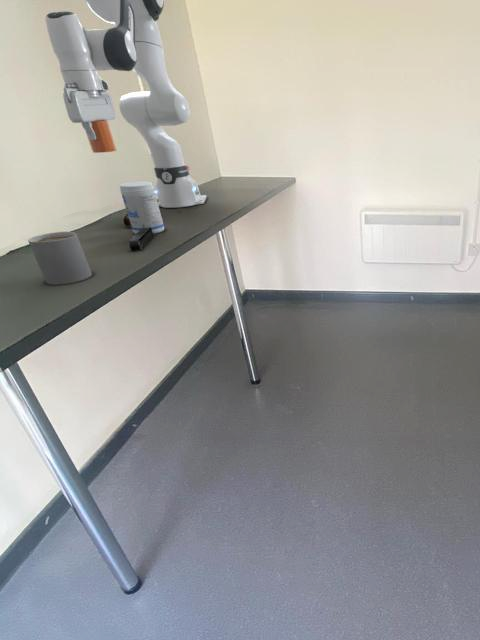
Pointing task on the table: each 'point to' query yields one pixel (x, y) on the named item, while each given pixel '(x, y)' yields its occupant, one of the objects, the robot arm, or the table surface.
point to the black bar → (141, 239)
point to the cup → (102, 137)
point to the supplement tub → (142, 206)
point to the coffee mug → (60, 257)
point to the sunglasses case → (127, 221)
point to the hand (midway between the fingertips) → (100, 138)
